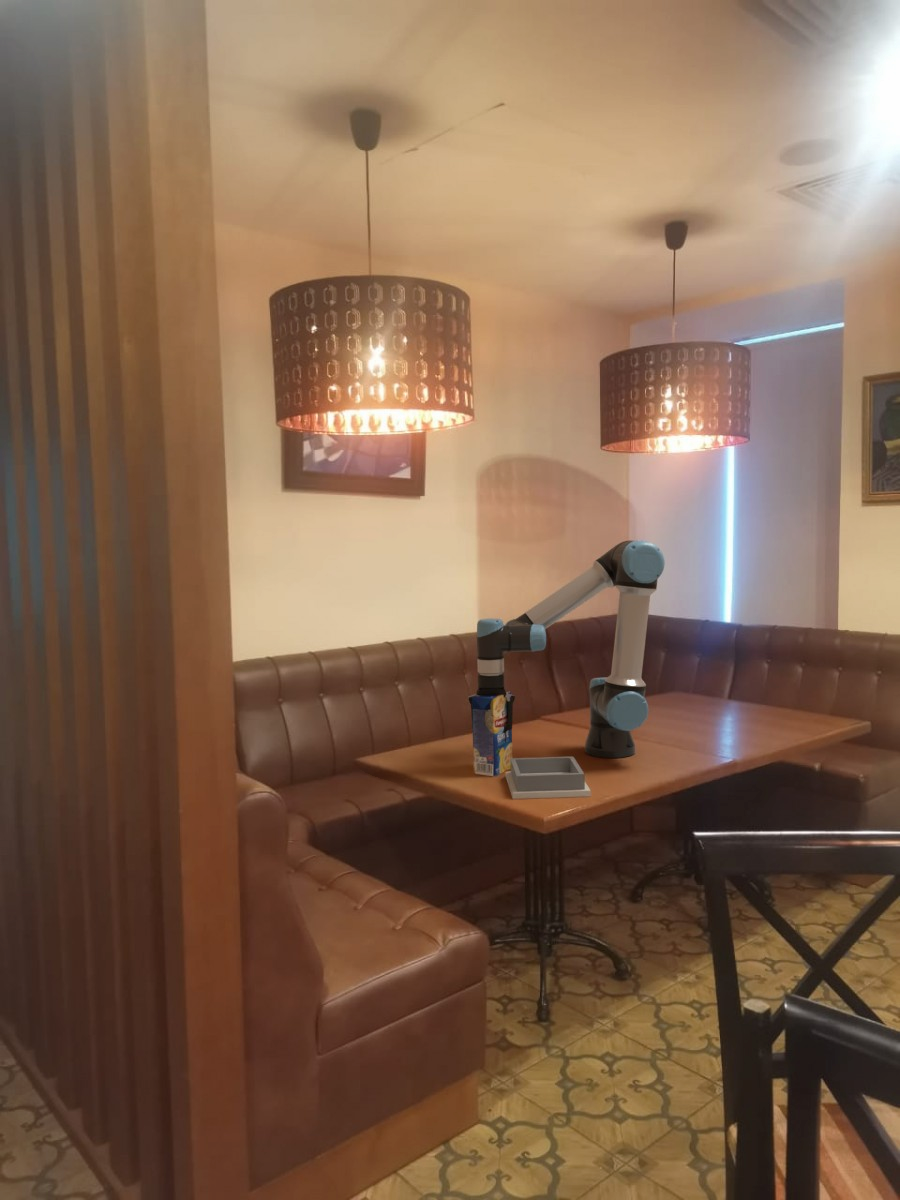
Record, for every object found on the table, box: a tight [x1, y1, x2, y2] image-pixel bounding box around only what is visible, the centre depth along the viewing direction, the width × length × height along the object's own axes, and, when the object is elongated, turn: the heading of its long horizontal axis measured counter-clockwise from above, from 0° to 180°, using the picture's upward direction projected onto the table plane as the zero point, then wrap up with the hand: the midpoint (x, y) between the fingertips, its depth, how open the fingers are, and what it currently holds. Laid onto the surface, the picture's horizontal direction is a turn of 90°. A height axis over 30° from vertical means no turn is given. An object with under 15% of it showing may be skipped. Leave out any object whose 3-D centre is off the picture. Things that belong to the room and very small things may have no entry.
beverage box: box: [471, 691, 513, 777], centre depth 243 cm, size 7×11×22 cm, turn 149°
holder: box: [505, 756, 592, 800], centre depth 227 cm, size 20×20×6 cm
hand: (492, 754), depth 243 cm, fingers closed on beverage box, 4 cm apart
